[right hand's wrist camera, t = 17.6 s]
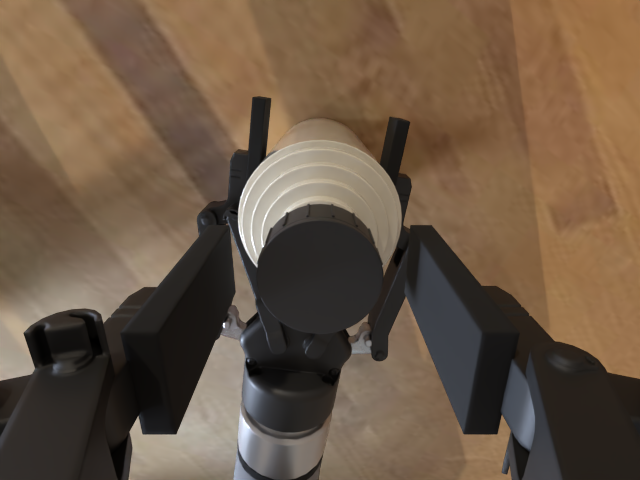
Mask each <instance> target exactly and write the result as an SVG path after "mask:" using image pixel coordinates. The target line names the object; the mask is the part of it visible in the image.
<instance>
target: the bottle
mask: <svg viewBox="0 0 640 480" xmlns="http://www.w3.org/2000/svg"><path fill="white" fill-rule="evenodd" d="M307 204H310V205H312V204H328V205H331V204H333V205H334V206H337V207H340V208H343V209H345V210H347V211H349V212H351V213H355V216H357V217H358V218H359V219H360V220H361V221H362V222H363V223H364V224H365V225H366V227H367V228H370V230H371V233H372V235H373V238H374V241H375V245H376V248H378V251H379V254H380V257H381V259H382V262H383V265H382V267H384V265H385V264H386V263H387V261H388V260H389V258H390V257H391V255H392V254H393V252H394V249H395V247H396V245H397V242H398V239H399V236H400V231H401V222H402V213H401V204H400V200H399V196H398V193H397V191H396V188H395V186H394V184H393V182H392V180H391V179H390V177H389V175H388V174H387V173H386V171H385V170H384V169H383V168H382V166H381V165H380V164H379V163H378V161H377V160H376V159H375V158H374V156H373V155H372V154H371V153H370V151H369V150H368V149H367V148H366V146H365V145H364V144H363V143H362V141H361V140H360V139H359V138H358V137H357V135H356V134H355V133H354V132H353V131H352V130H351V129H350V128H348V127H347V126H346V125H344V124H342V123H340V122H338V121H335V120H332V119H327V118H313V119H308V120H305V121H302V122H300V123H298V124H296V125H294V126H293V127H291V128H290V129H289V130H288V131H287V132H286V133H285V134H284V135H283V136H282V138H281V139H280V140H279V141H278V142H277V144H276V145H275V146H274V147H273V149H272V150H271V151H270V152H269V154H268V155H267V156H266V157H265V159H264V160H263V161H262V162H261V163H260V165H259V166H258V167H257V168H256V170H255V171H254V172H253V174H252V175H251V177H250V178H249V180H248V181H247V183H246V186H245V188H244V190H243V192H242V196H241V199H240V203H239V209H238V225H239V232H240V236H241V240H242V243H243V245H244V248H245V250H246V252H247V254H248V256H249V257H250V259H251V260H252V262H253V263H254V264H255V266H256V267H257V265H258V264H257V261H258V258H259V255H260V253H261V250H262V247H264V245H265V241H266V238H267V235H268V233H269V230H270V228H271V227H272V228H273V226H274V225H275V224H276V223H277V222H278V221H279V220H280V219H281V218H282V217H283V216H284V215H285V213H286V212H288V213H289V212H290V211H292V210H295V209H297V208H299V207H302V206H306V205H307Z"/></svg>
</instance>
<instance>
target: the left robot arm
mask: <svg viewBox="0 0 640 480" xmlns="http://www.w3.org/2000/svg"><path fill="white" fill-rule="evenodd" d="M270 107H271V98H266V97H260V96H259V97H253V98H252V111H251V123H250V136H249V149H248V151H247V150H240V149H238V150H237V151H236V152H234V154H233V156H232V158H231V160H230V177H229V191H228V199H227V200H225V201H220V202H217V201H213V202H211V203H209V204H208V205H207V206H206V207H205V208H204V209H203V210H202V211H201V212H200V213H199V215H198V216H197V224H198V232H199V236H200V235H201V234H202V232H203V231H204V230H205V229H206V228H207V226H208V225H226V223H228V224H229V226H230V229H231V232H232V235H233V238H234V240H235V243H236V246H237V249H238V252H239V254H240V257H241V260H242V263H243V265H244V268H245V271H246V274H247V277H248V279H249V282H250V285H251V288H252V290H253V293H254V296H255V300H256V308H257V311H258V312H257V313H256V314H255V315H254V316H253V317H252V318H251V319H249V320H248V321H247V322H246V323H244V322H242V321H241V320H240V318H239V312H238V310H237V307H236V306H234V305H231V304H232V302H231V304H230V307H229V309H228V311H227V314H226V316H225V319H224V321H223V323H222V326H221V328H220V331H219V333H218V335H217V338H216V340H217V339H218V338H219V337H220V335H223V336H227V337H230V338H234V339H237V340H240V344H241V347H242V348H243V350H244V353H245V365H244V376H243V386H242V401H241V407H240V419H239V431H238V445H237V456H236V464H235V472H234V479H233V480H318V479H319V472H320V466H321V461H322V457H323V453H324V449H325V445H326V440H327V436H328V431H329V426H330V422H331V415H332V409H333V406H334V401H335V396H336V392H337V387H338V382H339V377H340V373H341V368H342V366H343V364H344V363H345V362H346V361H347V360H348V359H349V358H350V356H351V354H370V353H371V355H372V358H373V359H374V360H376V361H383V360H385V359H386V358H387V356H388V335H389V332H390V330H391V328H392V326H393V324H394V321H395V319H396V317H397V315H398V312H399V310H400V308H401V306H402V303H403V301H404V299H405V297H406V295H405V281H406V270H407V259H408V248H409V237H410V229H409V228H407V227H405V226H403V221H404V217H405V213H406V209H407V205H408V200H409V195H410V192H411V188H412V186H411V179H410V178H409V177H408V176H407V175H406V174H401V173H399V169H400V165H401V160H402V156H403V152H404V147H405V143H406V138H407V134H408V129H409V125H410V122H409V121H407V120H404V119H401V118H394V117H389V122H388V127H387V132H386V137H385V142H384V147H383V152H382V157H381V161H380V165H381V166H382V168H383V169H384V170H385V171H386V173H387V174H388V175H389V177H390V179H391V180H392V182H393V184H394V186H395V188H396V191H397V193H398V196H399V200H400V204H401V213H402V222H401V231H400V236H399V239H398V242H397V245H396V249H395V251H394V253H393V256H392V258H391V261H390V263H389V265H388V268H387V270H386V273H385V275H384V277H383V286H382V290H381V294H380V296H379V298H378V301H377V302H376V304H375V306H374V307H373V309H372V310H371V311H370V312H369V316H368V323H367V322H364V323H362V326H360V328H359V330H358V333H357V334H356V335H354V336H349V334H348V332H347V331H346V329H344V330H341V331H337V332H333V333H326V334H315V333H307V332H302V331H299V330H296V329H293V328H291V327H289V326H287V325H285V324H284V323H282V322H281V321H279V320H278V319H277V318H275V317H274V316H273V315H272V314H271V313H270V311H269V310H268V309H267V308H266V306H265V305H264V303H263V301H262V299H261V297H260V295H259V291H258V288H257V281H256V272H257V267H256V266H255V264H254V263H253V262H252V260H251V259H250V257H249V256H248V254H247V252H246V250H245V248H244V245H243V243H242V240H241V236H240V232H239V225H238V209H239V203H240V199H241V196H242V192H243V190H244V188H245V186H246V183H247V181H248V180H249V178H250V177H251V175H252V174H253V172H254V171H255V170H256V168H257V167H258V166H259V165H260V163H261V162H262V161H263V160H264V159H265V157H266V149H267V139H268V128H269V117H270ZM232 300H233V299H232Z"/></svg>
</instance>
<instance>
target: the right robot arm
mask: <svg viewBox="0 0 640 480" xmlns="http://www.w3.org/2000/svg"><path fill="white" fill-rule="evenodd" d="M234 295H235V281H234V270H233V259H232V248H231V237H230V226H229V225H208V226H207V228H206V229H205V230H204V231H203V232H202V234H201V235H200V236H199V237H198V239H197V240H196V241H195V242H194V243H193V245H192V246H191V247H190V248H189V249H188V251H187V252H186V253H185V254H184V256H183V257H182V258H181V259H180V260H179V262H178V263H177V264H176V265H175V266H174V268H173V269H172V270H171V271H170V272H169V274H168V275H167V276H166V277H165V279H164V280H163V281H162V282H161V283H160V285H159V286H158V287H144V288H142V289H141V290H139V291H137V292H135V293H134V294H132V295H130V296H129V297H128V298H127V299H126V300H125V301H124V302H123V303H122V304H121V305H120V306H119V309H117V310H116V311H115V312H114V313H113V314H112V315H111V318H108V319H107V320H106V322H105V323H104V324H103V321H102V317H101V314H100V313H98V312H97V311H95V310H90V309H72V310H68V311H63V312H59V313H56V314H53V315H50V316H48V317H45V318H43V319H41V320H39V321H38V322H36V323H34V324H33V325H31V326H30V327H29V328H28V329H27V330H26V331H25V332H24V336H25V339H26V342H27V345H28V348H29V351H30V354H31V357H32V360H33V363H34V366H35V370H34V372H33V374H31V375H27V376H22V377H17V378H12V379H7V380H2V381H0V480H128V478H129V471H130V463H131V455H132V442H131V437H130V433H129V431H130V430H131V428H132V426H133V424H134V422H135V421H136V419H137V417H138V415H139V420H140V424H141V429H142V433H143V434H177V431H178V429H179V426H180V424H181V422H182V419H183V417H184V414H185V412H186V410H187V407H188V405H189V402H190V400H191V398H192V395H193V393H194V390H195V388H196V386H197V383H198V381H199V379H200V376H201V374H202V371H203V369H204V367H205V364H206V362H207V359H208V357H209V355H210V352H211V350H212V347H213V345H214V343H215V340H216V338H217V335H218V333H219V331H220V328H221V326H222V323H223V321H224V319H225V316H226V314H227V311H228V309H229V307H230V304H231V302H232V299H233V297H234ZM405 295H406V297H407V299H408V302H409V304H410V307H411V309H412V311H413V314H414V316H415V319H416V321H417V323H418V326H419V328H420V331H421V333H422V335H423V338H424V340H425V343H426V345H427V347H428V350H429V352H430V355H431V357H432V359H433V362H434V364H435V367H436V369H437V371H438V374H439V376H440V379H441V381H442V383H443V386H444V388H445V390H446V393H447V395H448V398H449V400H450V402H451V405H452V407H453V410H454V412H455V414H456V417H457V419H458V422H459V424H460V426H461V429H462V431H463V434H497V433H498V429H499V424H500V420H501V415H503V417H504V419H505V420H506V422H507V424H508V426H509V427H510V429H511V433H510V437H509V442H508V446H507V450H506V454H505V458H504V462H503V468H502V473H503V474H507V473H508V469H509V466H510V469H511V477H512V480H640V379H637V378H632V377H627V376H622V375H617V374H612V373H608V372H607V371H606V369H605V368H604V366H603V365H602V364H601V363H600V361H599V360H598V359H596V358H595V357H594V356H592V355H591V354H589V353H588V352H586V351H584V350H582V349H580V348H577V347H575V346H573V345H569V344H565V343H561V342H555V341H554V340H553V339H552V338H551V337H550V336H549V335H548V334H547V333H546V332H545V330H544V329H543V328H542V327H541V326H540V325H539V324H538V323H537V322H536V321H535V320H534V319H533V318H532V317H531V316H529V313H528V312H527V311H526V310H525V309H524V308H523V307H521V305H520V304H519V303H518V302H517V300H516V299H515V298H514V297H513V296H512V295H511V294H509V293H507V292H505V291H504V290H502V289H500V288H498V287H497V286H481V285H480V283H479V282H478V281H477V280H476V279H475V277H474V276H473V275H472V274H471V272H470V271H469V270H468V269H467V268H466V266H465V265H464V264H463V263H462V262H461V260H460V259H459V258H458V257H457V256H456V254H455V253H454V252H453V251H452V249H451V248H450V247H449V246H448V245H447V243H446V242H445V241H444V240H443V239H442V237H441V236H440V235H439V234H438V232H437V231H436V230H435V229H434V228H433V226H432V225H411V226H410V237H409V248H408V259H407V270H406V281H405Z"/></svg>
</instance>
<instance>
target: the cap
mask: <svg viewBox="0 0 640 480" xmlns="http://www.w3.org/2000/svg"><path fill="white" fill-rule="evenodd" d="M257 264H258V265H257V272H256V281H257V288H258V291H259V295H260V297H261V299H262V301H263V303H264V305H265V306H266V308H267V309H268V310H269V311H270V313H271V314H272V315H273V316H274V317H275V318H277V319H278V320H279V321H281V322H282V323H284V324H285V325H287V326H289V327H291V328H293V329H296V330H299V331H302V332H307V333H315V334H326V333H333V332H337V331H341V330H344V329H346V328H349V327H351V326H353V325H354V324H356V323H358V322H359V321H360V320H362V319H363V318H364V317H365V316H366V315H367V314H368V313H369V312H370V311H371V310H372V309H373V307H374V306H375V304H376V302H377V301H378V298H379V296H380V294H381V290H382V286H383V267H382V265H383V262H382V259H381V257H380V254H379V251H378V248H376V245H375V241H374V238H373V235H372V233H371V230H370V228H367V227H366V225H365V224H364V223H363V222H362V221H361V220H360V219H359V218H358V217H357V216H355V213H351V212H349V211H347V210H345V209H343V208H340V207H337V206H334V205H333V204H331V205H328V204H312V205H310V204H307V205H306V206H302V207H299V208H297V209H295V210H292V211H290V212H289V213H288V212H286V213H285V215H284V216H283V217H282V218H281V219H280V220H279V221H278V222H277V223H276V224H275V225H274V226H273V228H272V227H271V228H270V230H269V233H268V235H267V238H266V241H265V245H264V247H262V250H261V253H260V255H259V258H258V261H257Z"/></svg>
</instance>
